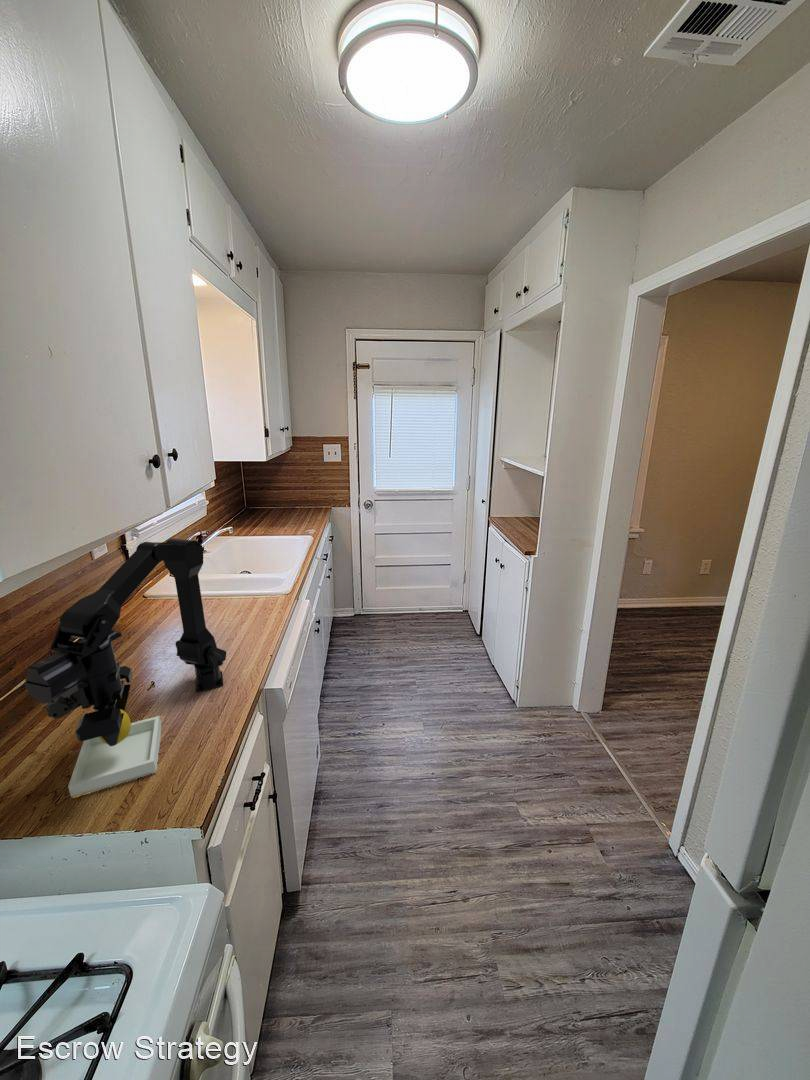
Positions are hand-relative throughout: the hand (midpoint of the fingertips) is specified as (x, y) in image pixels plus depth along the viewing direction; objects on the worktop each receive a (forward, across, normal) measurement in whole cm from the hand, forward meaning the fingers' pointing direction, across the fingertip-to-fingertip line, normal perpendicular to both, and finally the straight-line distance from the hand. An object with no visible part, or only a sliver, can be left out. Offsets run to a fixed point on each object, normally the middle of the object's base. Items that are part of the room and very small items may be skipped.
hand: (116, 734), depth 84 cm
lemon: (+2, 0, 0) cm, 2 cm away
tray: (+6, 0, 0) cm, 6 cm away
